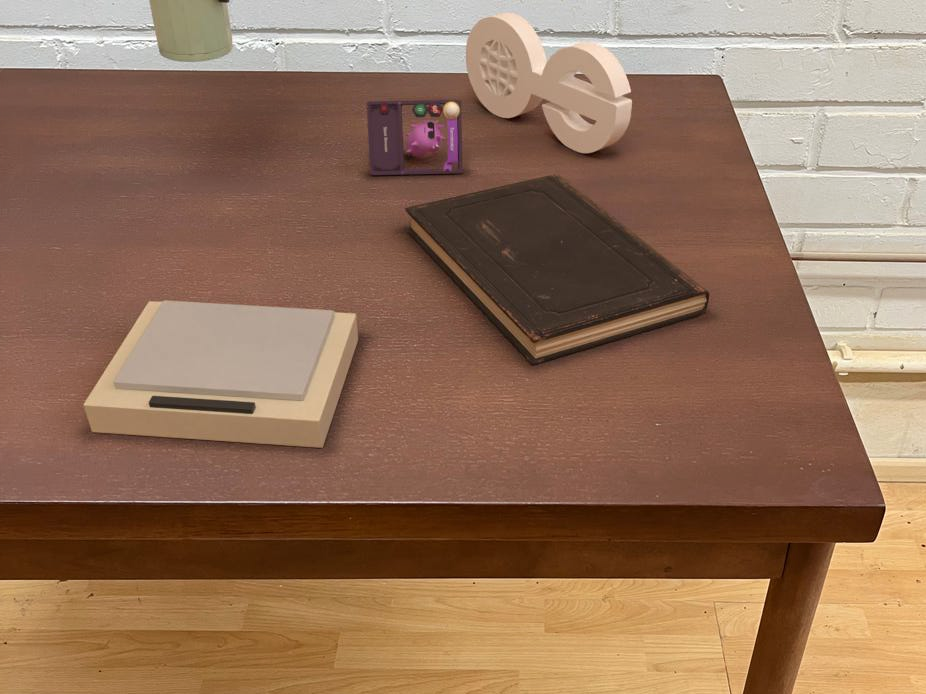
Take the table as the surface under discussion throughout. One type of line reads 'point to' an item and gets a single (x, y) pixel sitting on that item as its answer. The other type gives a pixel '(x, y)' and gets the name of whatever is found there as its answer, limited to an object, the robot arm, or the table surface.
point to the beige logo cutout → (549, 82)
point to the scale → (226, 374)
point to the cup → (192, 29)
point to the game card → (412, 135)
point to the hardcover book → (553, 267)
